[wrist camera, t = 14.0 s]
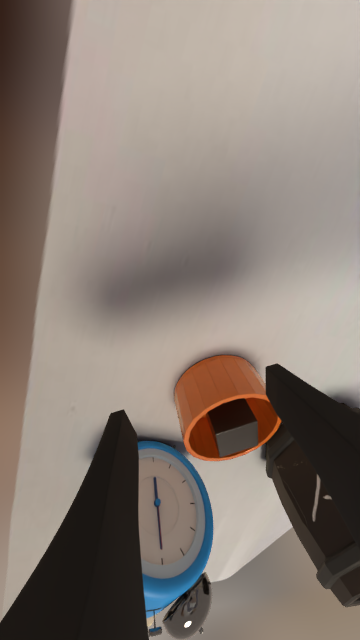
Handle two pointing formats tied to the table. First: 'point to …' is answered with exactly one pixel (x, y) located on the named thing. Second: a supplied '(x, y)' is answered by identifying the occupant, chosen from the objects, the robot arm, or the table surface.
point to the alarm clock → (174, 539)
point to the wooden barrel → (315, 517)
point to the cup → (220, 402)
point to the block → (233, 426)
